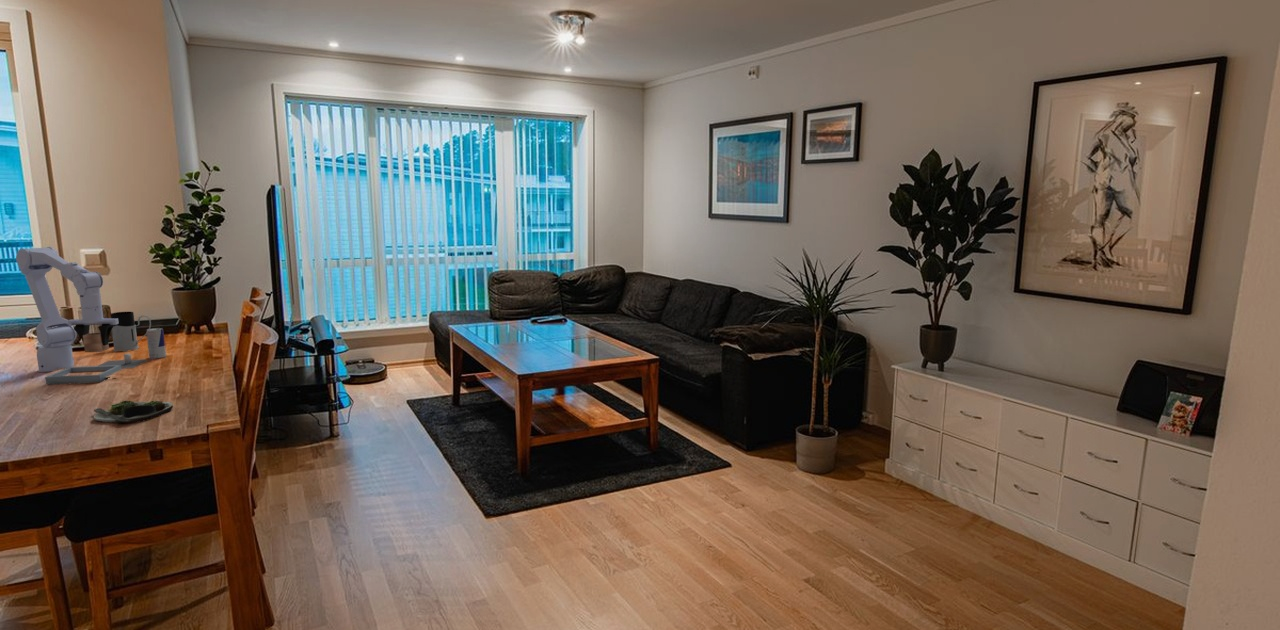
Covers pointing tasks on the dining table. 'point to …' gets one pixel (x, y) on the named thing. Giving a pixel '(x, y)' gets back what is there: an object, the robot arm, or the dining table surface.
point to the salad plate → (132, 411)
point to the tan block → (94, 342)
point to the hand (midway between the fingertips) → (96, 345)
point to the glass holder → (125, 331)
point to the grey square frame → (61, 379)
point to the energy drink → (156, 343)
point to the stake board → (124, 366)
